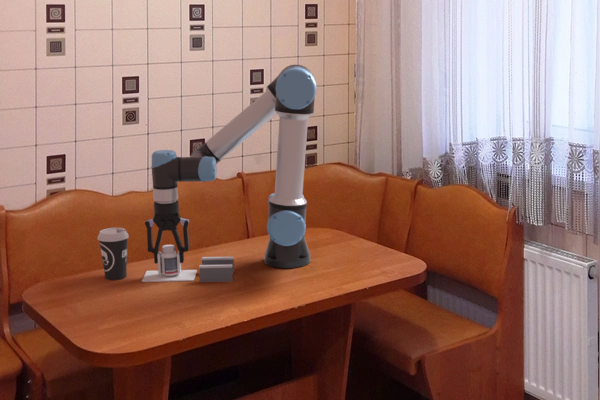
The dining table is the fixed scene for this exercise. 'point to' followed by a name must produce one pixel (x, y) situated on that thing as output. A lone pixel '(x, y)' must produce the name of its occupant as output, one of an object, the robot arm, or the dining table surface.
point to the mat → (183, 276)
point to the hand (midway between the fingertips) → (169, 272)
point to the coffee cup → (114, 252)
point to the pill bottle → (169, 260)
